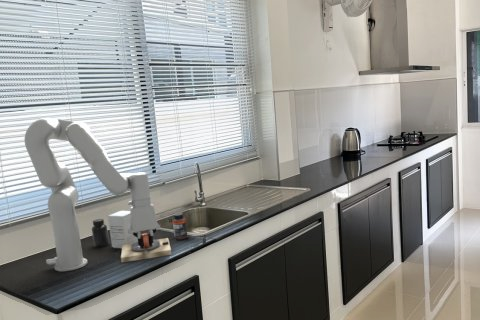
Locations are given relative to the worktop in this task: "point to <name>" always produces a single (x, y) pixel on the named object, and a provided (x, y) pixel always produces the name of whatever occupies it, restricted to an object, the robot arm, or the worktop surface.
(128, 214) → the supplement box
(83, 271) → the worktop surface
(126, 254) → the board
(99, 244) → the supplement bottle
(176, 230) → the supplement bottle
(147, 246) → the dial
